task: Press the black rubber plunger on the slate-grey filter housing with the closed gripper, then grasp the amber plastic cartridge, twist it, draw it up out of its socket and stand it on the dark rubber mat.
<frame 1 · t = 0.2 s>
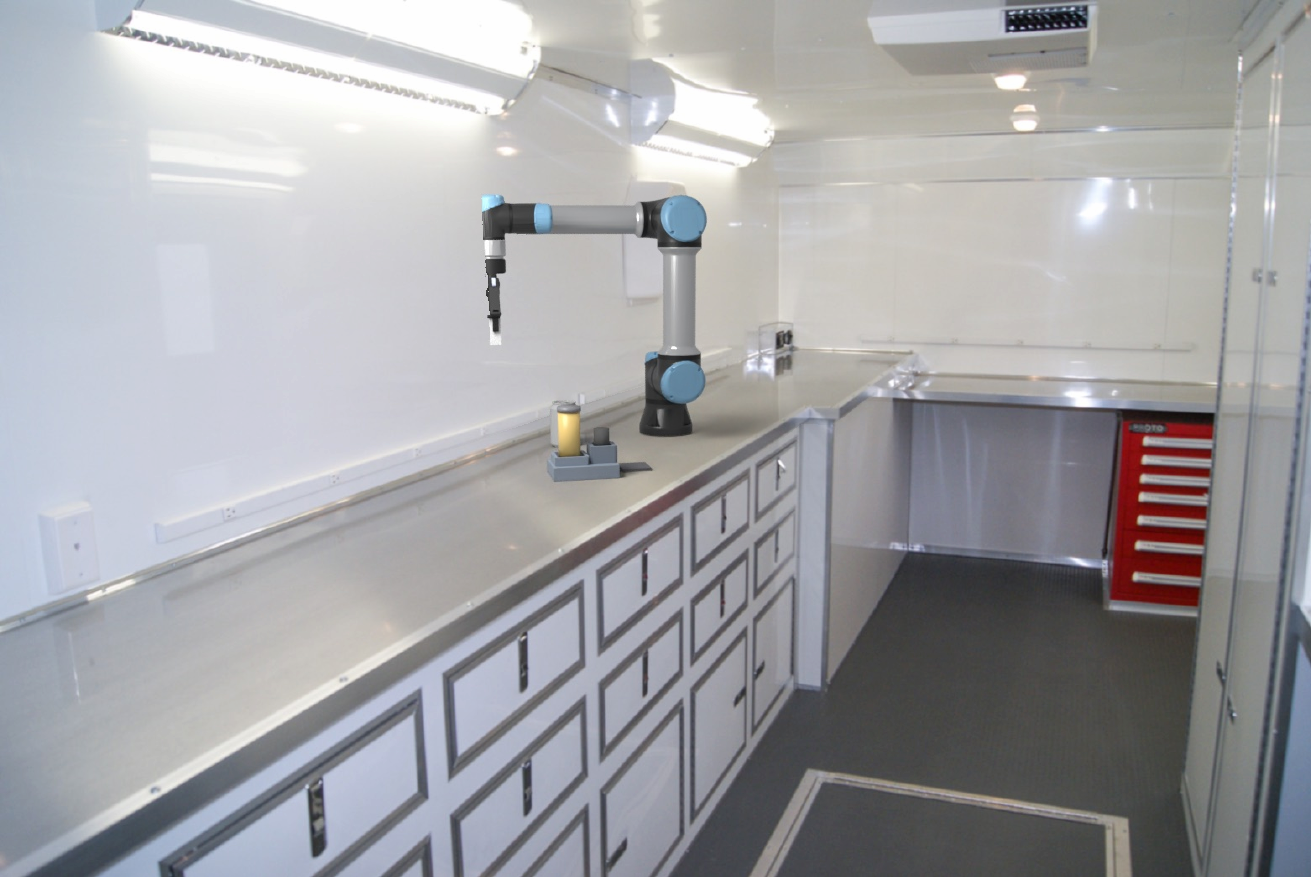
hand: (493, 342, 264), 28 cm above the worktop, fingers open, 13 cm apart
cartridge: (569, 462, 238), point 3 cm above the worktop, touching housing
plunger: (601, 439, 239), point 8 cm above the worktop, slide at 0.0 cm
housing: (582, 474, 239), on the worktop
mat: (633, 468, 246), on the worktop
can: (564, 446, 274), on the worktop
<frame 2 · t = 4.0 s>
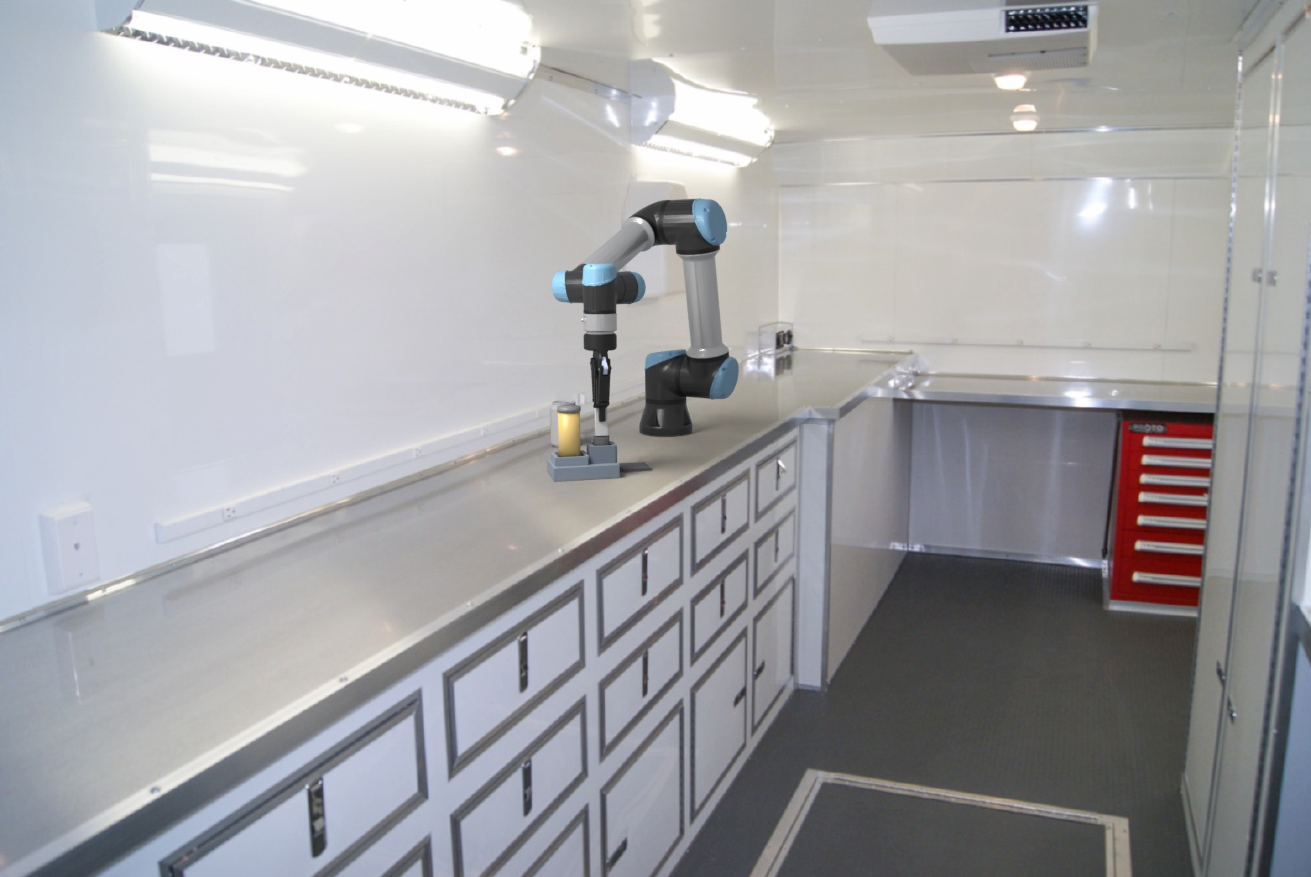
hand: (601, 435, 238), 9 cm above the worktop, fingers closed
plunger: (601, 446, 239), point 6 cm above the worktop, slide at 1.8 cm
everything else where it was.
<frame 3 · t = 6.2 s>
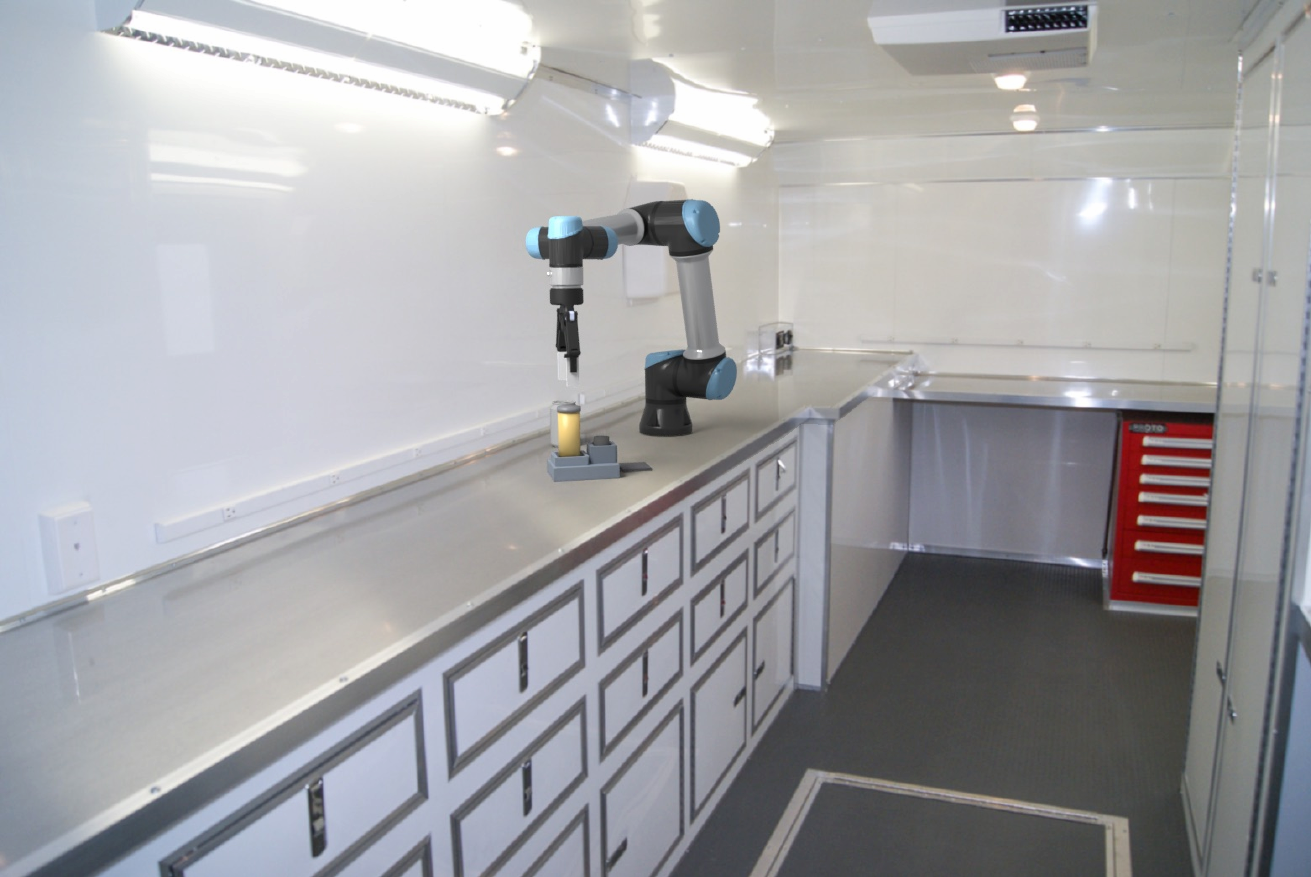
hand: (568, 383, 234), 21 cm above the worktop, fingers open, 12 cm apart
nothing on the worktop moved.
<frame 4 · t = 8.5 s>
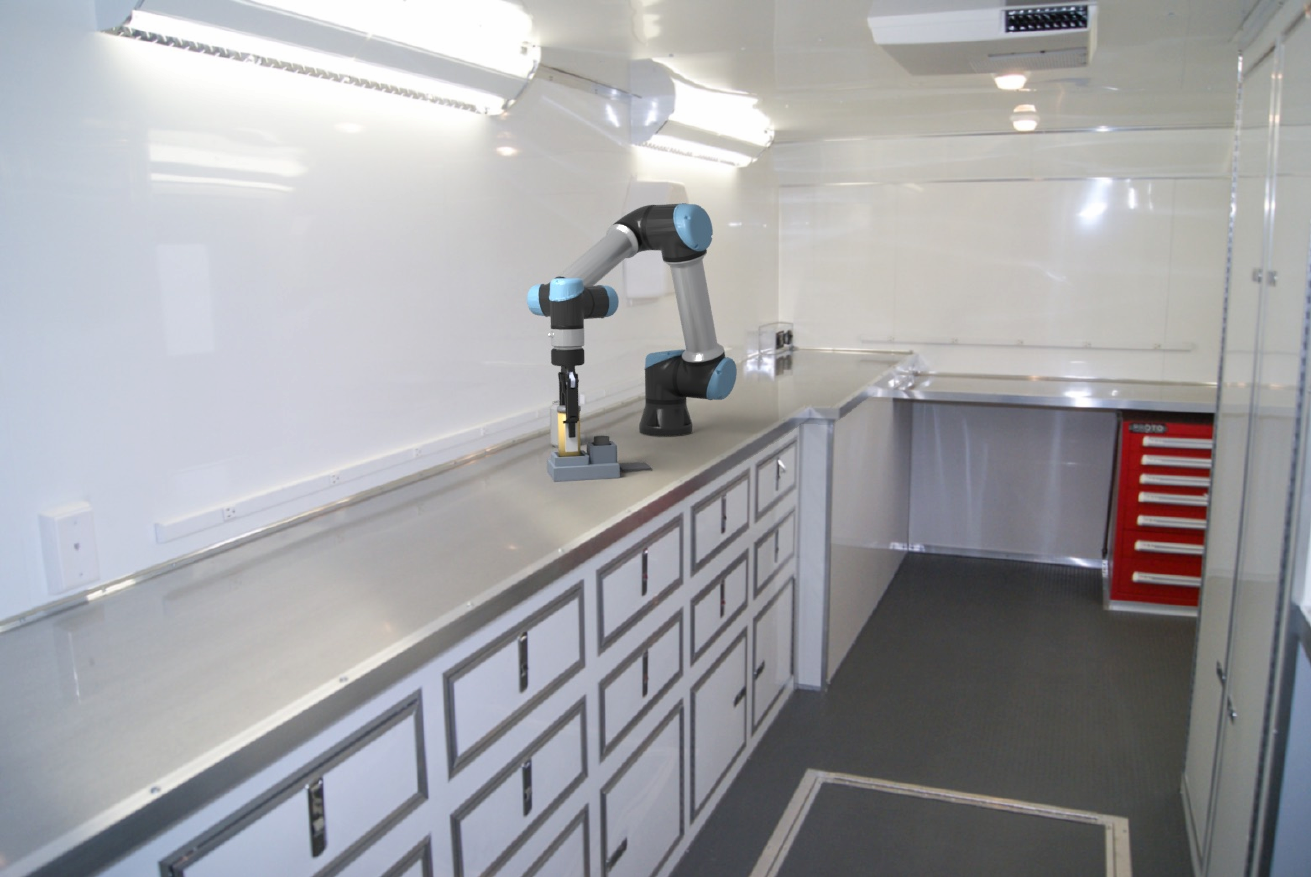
hand: (569, 448, 237), 6 cm above the worktop, fingers closed on cartridge, 5 cm apart
cartridge: (569, 462, 238), point 3 cm above the worktop, touching gripper, housing
everything else where it was.
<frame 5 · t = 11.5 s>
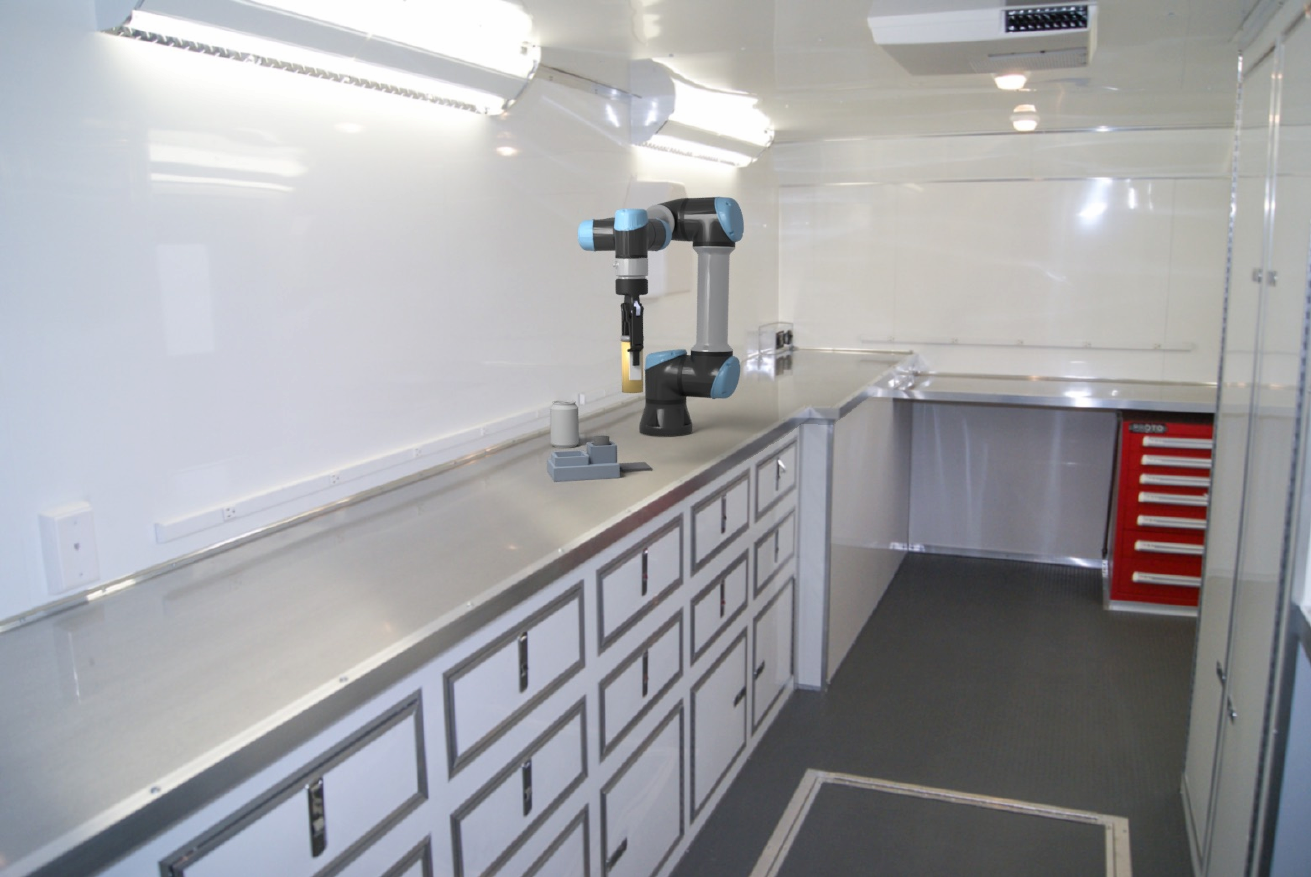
hand: (632, 377, 242), 22 cm above the worktop, fingers closed on cartridge, 5 cm apart
cartridge: (632, 391, 242), point 18 cm above the worktop, touching gripper
everything else where it was.
when the fingers open (5 cm above the worktop, at t = 14.9 s): cartridge stays where it is, resting on mat.
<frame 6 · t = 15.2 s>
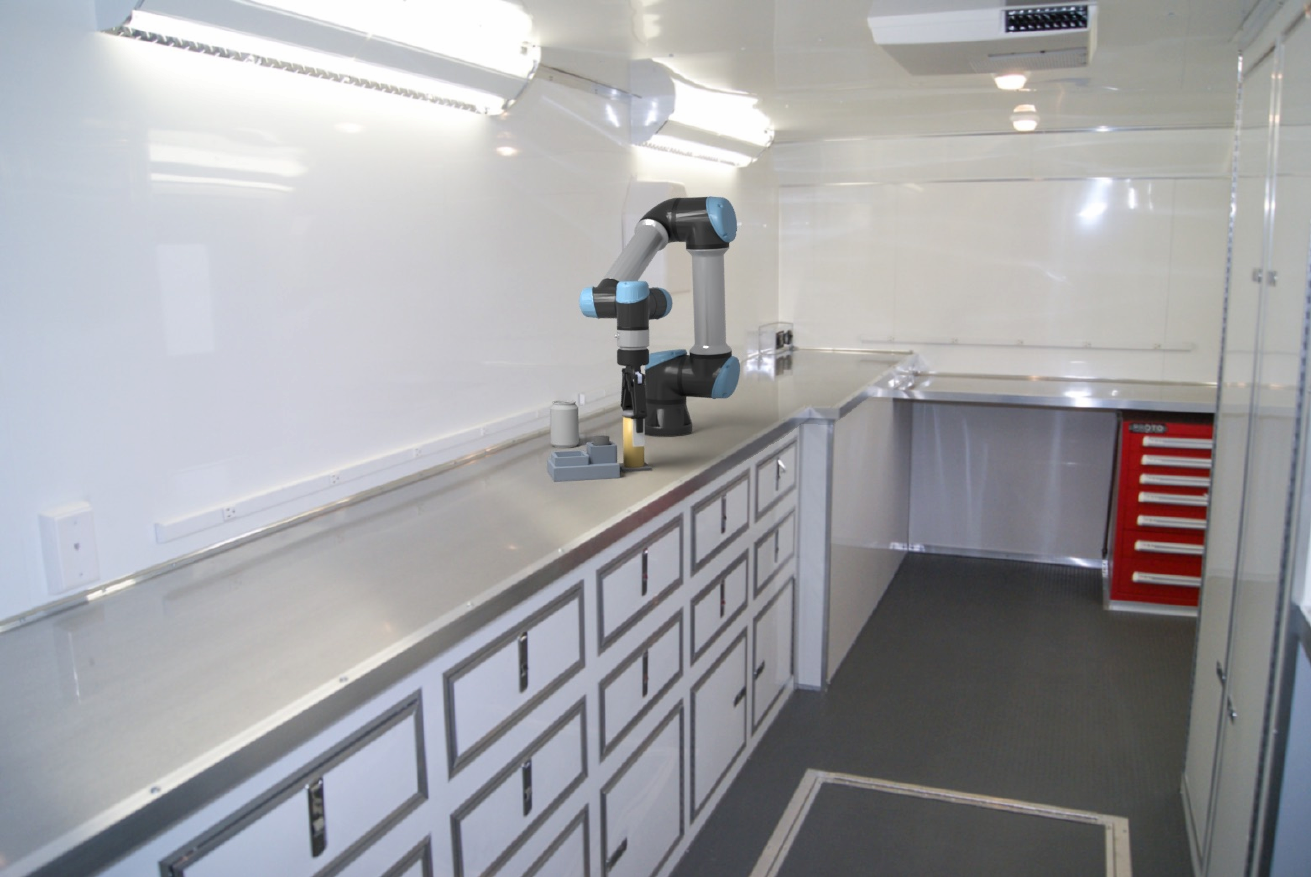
hand: (633, 442, 245), 6 cm above the worktop, fingers open, 10 cm apart
cartridge: (633, 465, 246), point 1 cm above the worktop, touching mat
everything else where it was.
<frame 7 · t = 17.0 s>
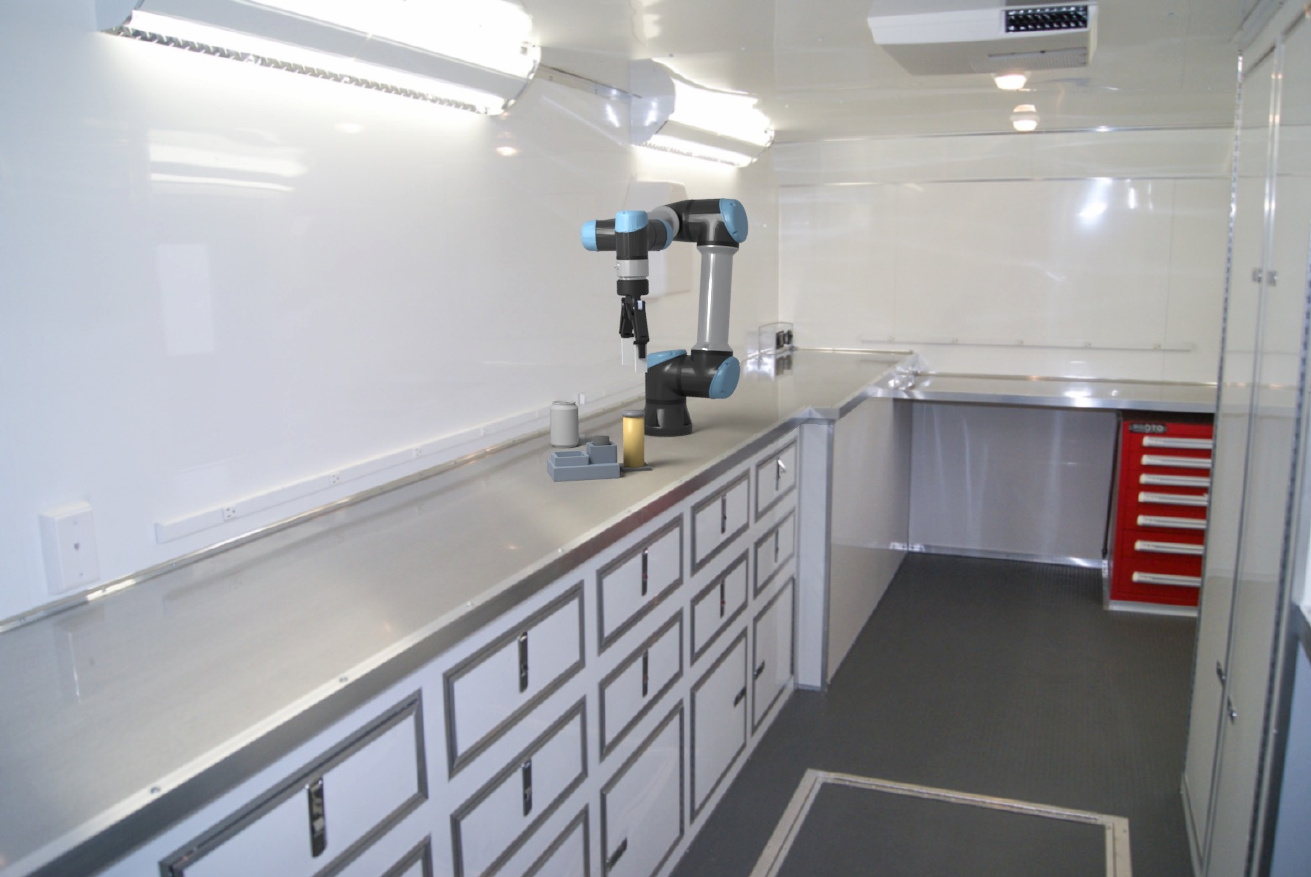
hand: (634, 368, 245), 23 cm above the worktop, fingers open, 13 cm apart
nothing on the worktop moved.
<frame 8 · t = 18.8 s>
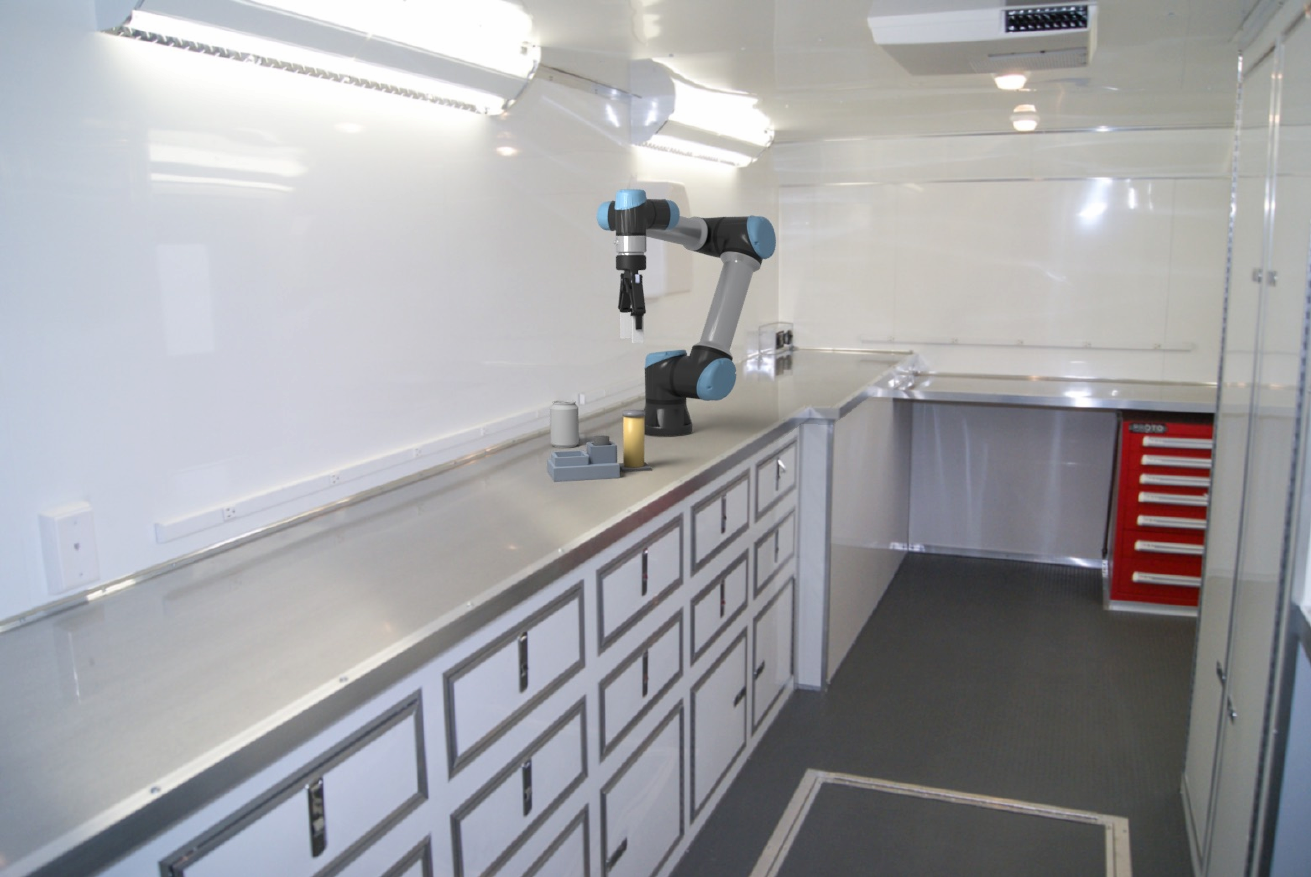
hand: (631, 340, 258), 29 cm above the worktop, fingers open, 13 cm apart
nothing on the worktop moved.
at the end: cartridge inside the target area on the mat (0.0 cm from its centre), point 0.6 cm above the mat's base; cartridge tilted 1°; plunger slide at 2.0 cm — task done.
